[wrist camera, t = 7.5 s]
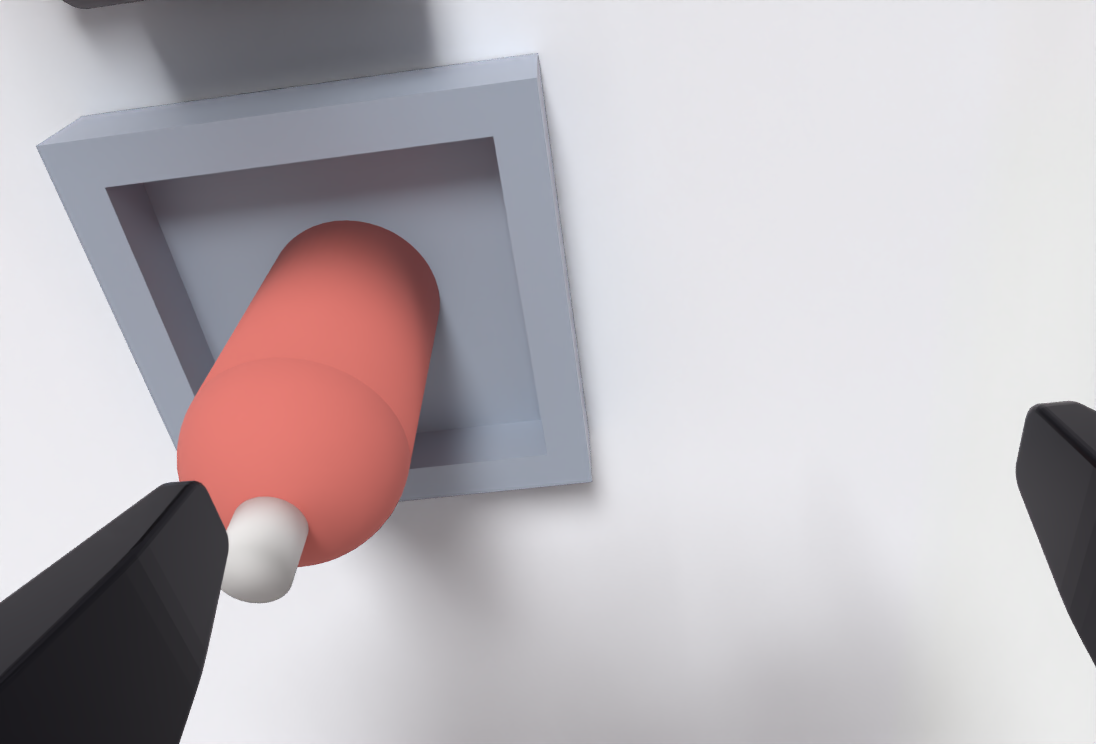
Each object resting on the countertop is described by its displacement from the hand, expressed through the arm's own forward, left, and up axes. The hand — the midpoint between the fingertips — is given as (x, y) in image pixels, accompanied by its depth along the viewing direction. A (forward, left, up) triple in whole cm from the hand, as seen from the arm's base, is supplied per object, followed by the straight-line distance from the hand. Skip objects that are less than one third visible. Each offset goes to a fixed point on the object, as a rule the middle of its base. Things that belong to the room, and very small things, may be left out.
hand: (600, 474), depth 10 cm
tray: (+6, +3, -11) cm, 13 cm away
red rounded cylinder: (+6, +3, -11) cm, 13 cm away
